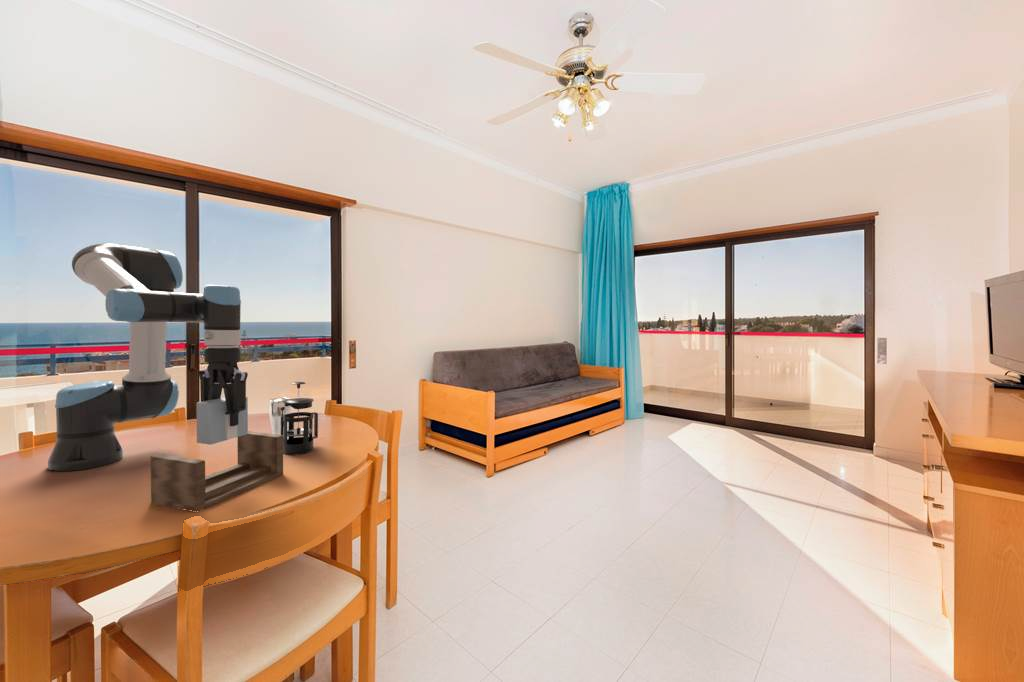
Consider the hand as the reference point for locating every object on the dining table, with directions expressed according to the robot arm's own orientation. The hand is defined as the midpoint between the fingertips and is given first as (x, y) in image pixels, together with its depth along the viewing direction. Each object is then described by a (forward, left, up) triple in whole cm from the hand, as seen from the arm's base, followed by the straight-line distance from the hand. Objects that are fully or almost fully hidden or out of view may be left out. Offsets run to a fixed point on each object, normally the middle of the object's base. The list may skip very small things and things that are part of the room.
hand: (223, 437), depth 103 cm
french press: (-5, +31, -13) cm, 34 cm away
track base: (0, 0, -13) cm, 13 cm away
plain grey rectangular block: (0, 0, 0) cm, 0 cm away
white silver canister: (-19, +37, -13) cm, 44 cm away
